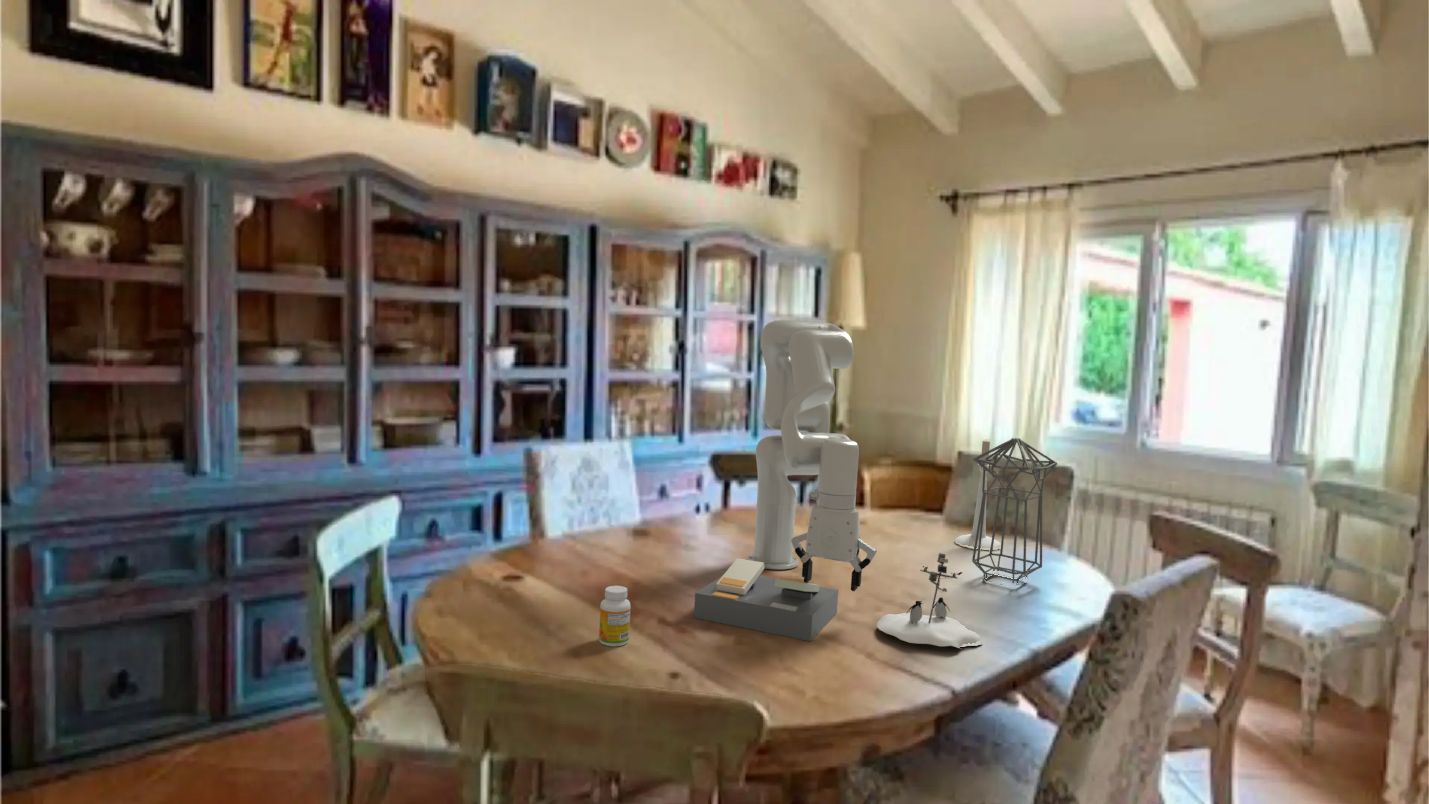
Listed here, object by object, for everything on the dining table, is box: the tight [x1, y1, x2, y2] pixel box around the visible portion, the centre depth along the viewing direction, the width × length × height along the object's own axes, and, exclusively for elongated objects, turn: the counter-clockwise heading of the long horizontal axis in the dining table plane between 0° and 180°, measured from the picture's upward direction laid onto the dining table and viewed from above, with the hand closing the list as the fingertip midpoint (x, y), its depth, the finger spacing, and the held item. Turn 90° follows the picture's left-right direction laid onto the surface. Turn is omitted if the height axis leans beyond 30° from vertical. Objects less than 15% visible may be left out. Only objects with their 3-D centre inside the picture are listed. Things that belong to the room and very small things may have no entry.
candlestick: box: [954, 439, 1001, 548], centre depth 238 cm, size 13×13×30 cm
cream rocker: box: [716, 557, 765, 595], centre depth 172 cm, size 11×6×2 cm, turn 156°
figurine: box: [876, 552, 981, 649], centre depth 164 cm, size 20×18×16 cm
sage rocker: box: [774, 577, 821, 592], centre depth 168 cm, size 11×6×2 cm, turn 157°
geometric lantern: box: [971, 437, 1058, 584], centre depth 201 cm, size 16×16×35 cm
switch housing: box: [693, 575, 839, 642], centre depth 170 cm, size 18×24×6 cm
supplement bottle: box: [598, 585, 632, 648], centre depth 152 cm, size 5×5×10 cm
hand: (830, 585), depth 170 cm, fingers open, 9 cm apart
